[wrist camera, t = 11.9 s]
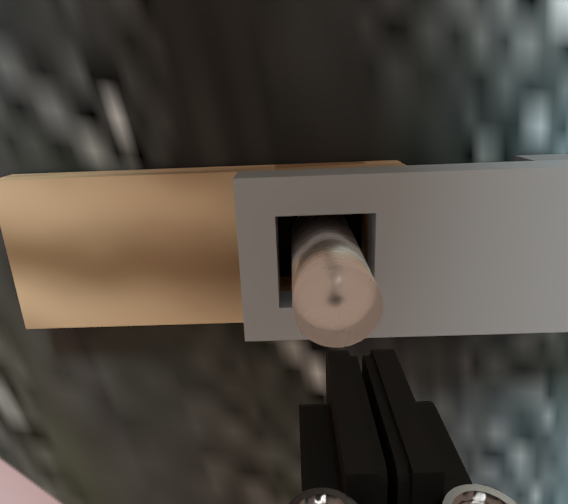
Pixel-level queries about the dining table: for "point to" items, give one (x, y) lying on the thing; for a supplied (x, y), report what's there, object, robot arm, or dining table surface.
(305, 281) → the pin
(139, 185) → the link
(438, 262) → the link
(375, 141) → the dining table surface
